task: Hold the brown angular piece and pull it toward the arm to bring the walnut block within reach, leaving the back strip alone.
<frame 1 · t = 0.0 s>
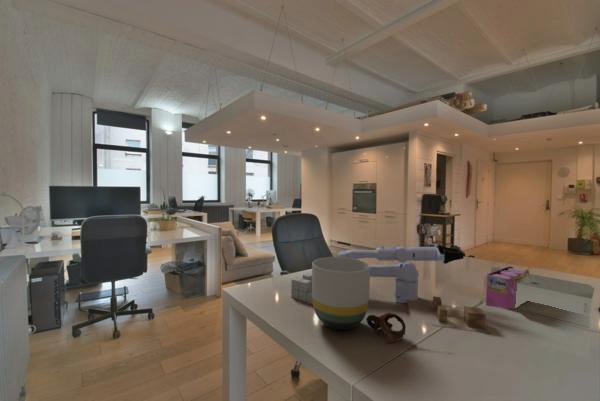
hand: (460, 253, 110), 22 cm above the table, tool horizontal, fingers open, 7 cm apart
planter: (339, 325, 94), on the table
puzzle cube: (310, 297, 119), on the table
brown angular piece: (460, 318, 94), point 3 cm above the table, slide at 0.0 cm, touching walnut block
tray board: (452, 320, 98), on the table
gum box: (507, 304, 115), on the table
walnut block: (474, 324, 92), point 1 cm above the table, touching brown angular piece
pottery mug: (385, 336, 88), on the table
back strip: (453, 307, 103), point 3 cm above the table, slide at 0.0 cm
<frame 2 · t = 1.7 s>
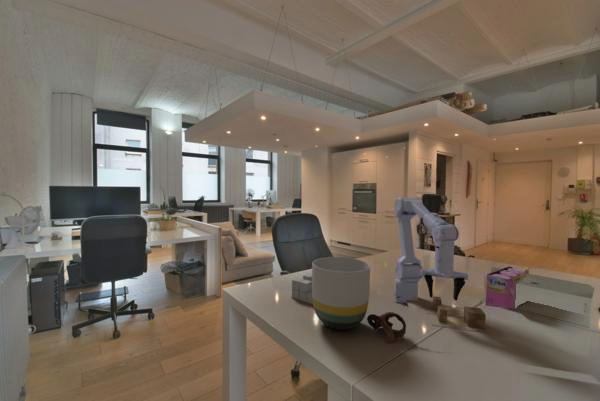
hand: (442, 297, 95), 10 cm above the table, tool pointing down, fingers open, 7 cm apart
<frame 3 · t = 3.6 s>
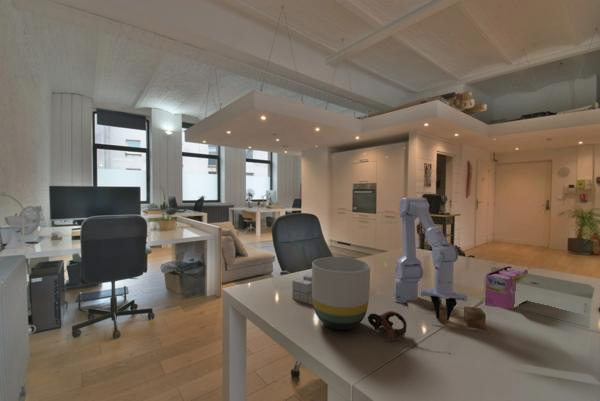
hand: (442, 318, 95), 2 cm above the table, tool pointing down, fingers closed on brown angular piece, 2 cm apart
brown angular piece: (460, 318, 94), point 3 cm above the table, slide at 0.0 cm, touching gripper, walnut block
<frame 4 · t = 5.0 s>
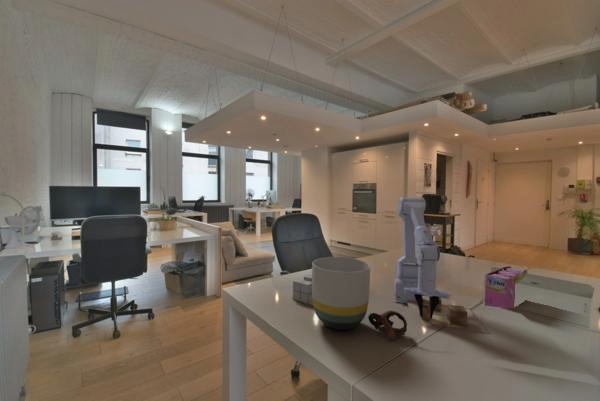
hand: (425, 316, 97), 2 cm above the table, tool pointing down, fingers closed on brown angular piece, 2 cm apart
brown angular piece: (443, 315, 95), point 3 cm above the table, slide at 5.3 cm, touching gripper, walnut block
walnut block: (456, 322, 94), point 1 cm above the table, touching brown angular piece
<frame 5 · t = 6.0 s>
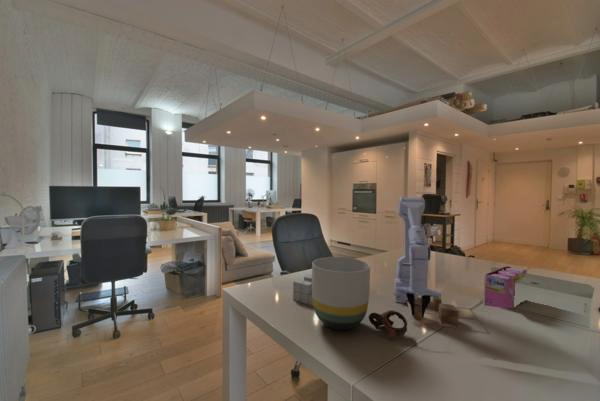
hand: (417, 315, 97), 2 cm above the table, tool pointing down, fingers closed on brown angular piece, 2 cm apart
brown angular piece: (434, 314, 96), point 3 cm above the table, slide at 8.0 cm, touching gripper, walnut block
walnut block: (447, 321, 95), point 1 cm above the table, touching brown angular piece
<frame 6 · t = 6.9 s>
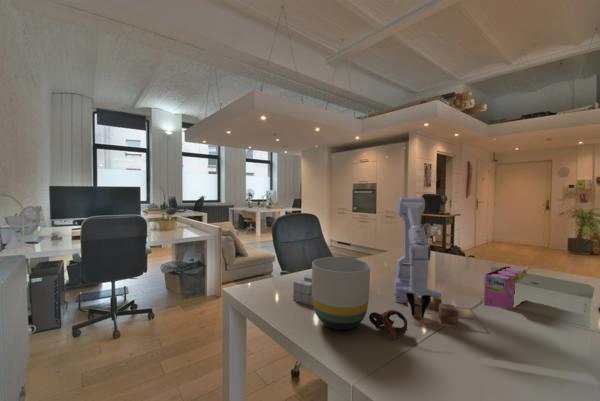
hand: (417, 315, 97), 2 cm above the table, tool pointing down, fingers closed on brown angular piece, 2 cm apart
brown angular piece: (434, 314, 96), point 3 cm above the table, slide at 8.0 cm, touching gripper, walnut block
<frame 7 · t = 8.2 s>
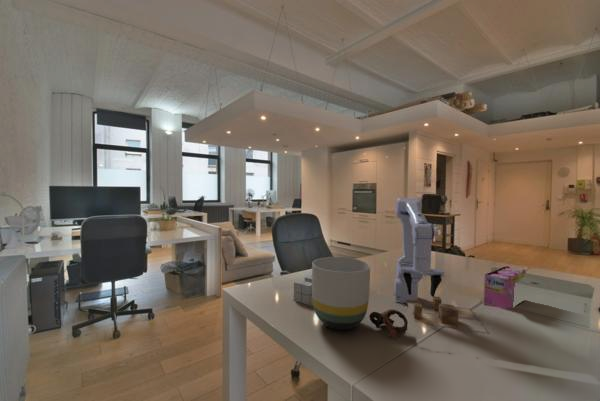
hand: (420, 294, 98), 9 cm above the table, tool pointing down, fingers open, 7 cm apart
brown angular piece: (434, 314, 96), point 3 cm above the table, slide at 8.0 cm, touching walnut block
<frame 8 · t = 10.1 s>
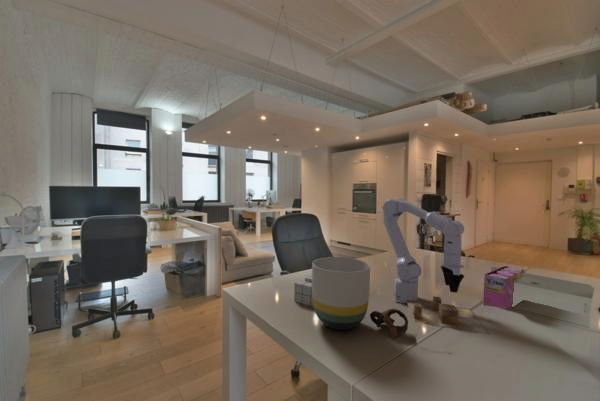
hand: (451, 288, 103), 10 cm above the table, tool pointing down, fingers open, 7 cm apart
at the end: brown angular piece slide at 8.0 cm; walnut block inside the target area (0.8 cm from its centre), point 1.5 cm above the table; walnut block tilted 0° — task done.
